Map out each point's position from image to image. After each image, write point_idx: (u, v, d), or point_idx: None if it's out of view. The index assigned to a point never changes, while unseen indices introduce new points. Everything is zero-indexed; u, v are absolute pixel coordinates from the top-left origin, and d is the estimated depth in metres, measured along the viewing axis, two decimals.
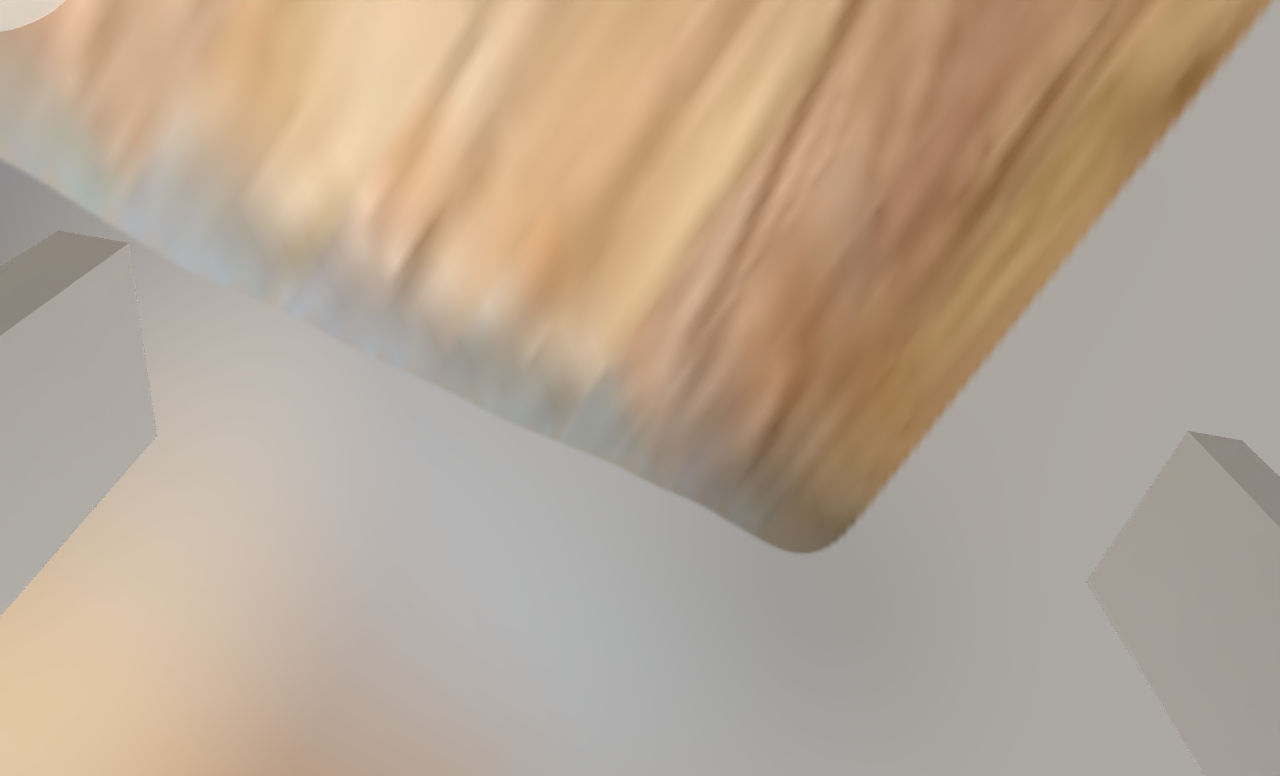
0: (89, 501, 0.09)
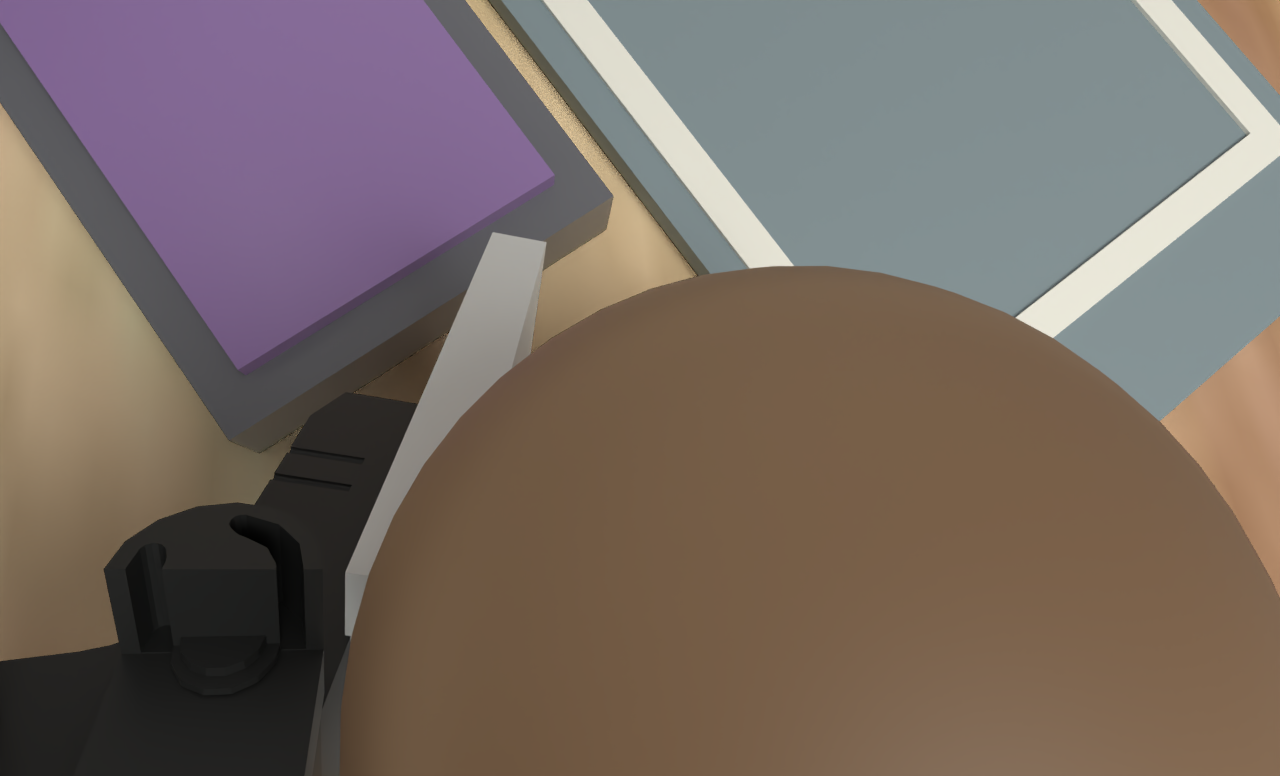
0: None
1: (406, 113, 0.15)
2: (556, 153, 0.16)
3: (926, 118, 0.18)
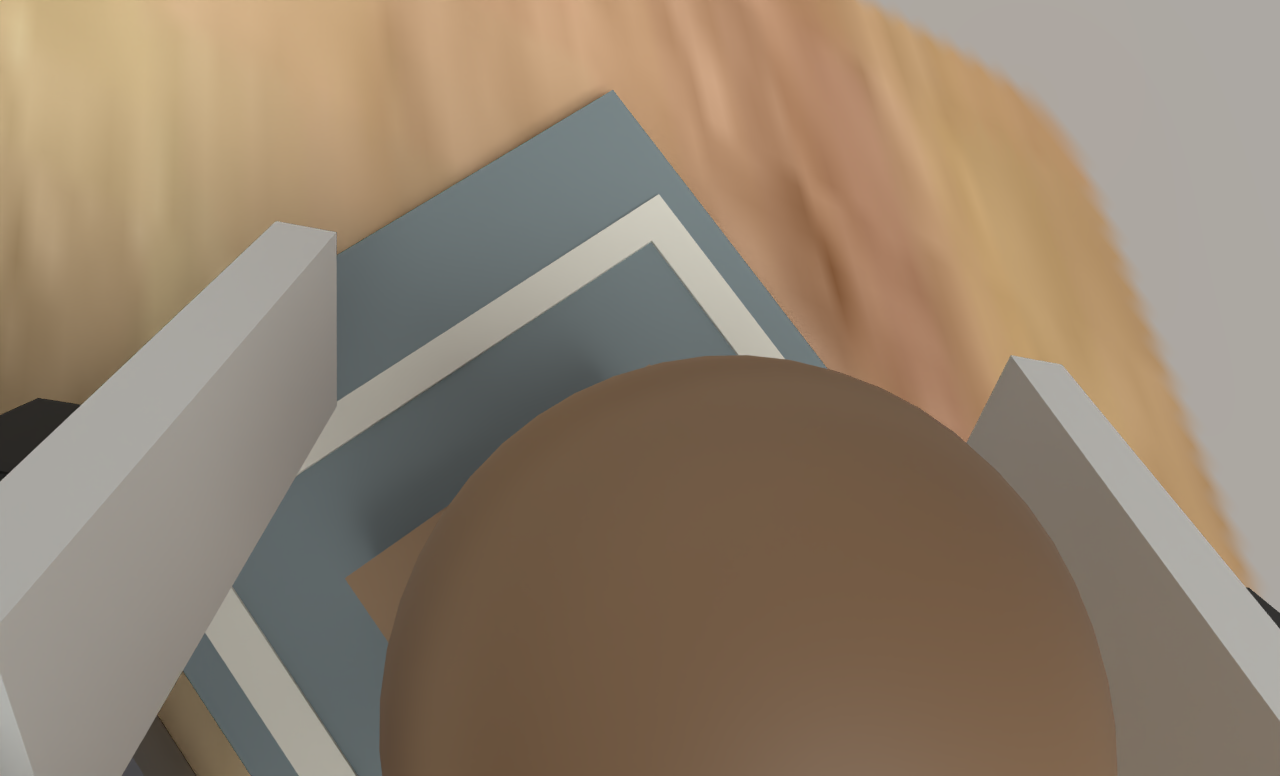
0: (300, 460, 0.11)
1: None
2: None
3: None
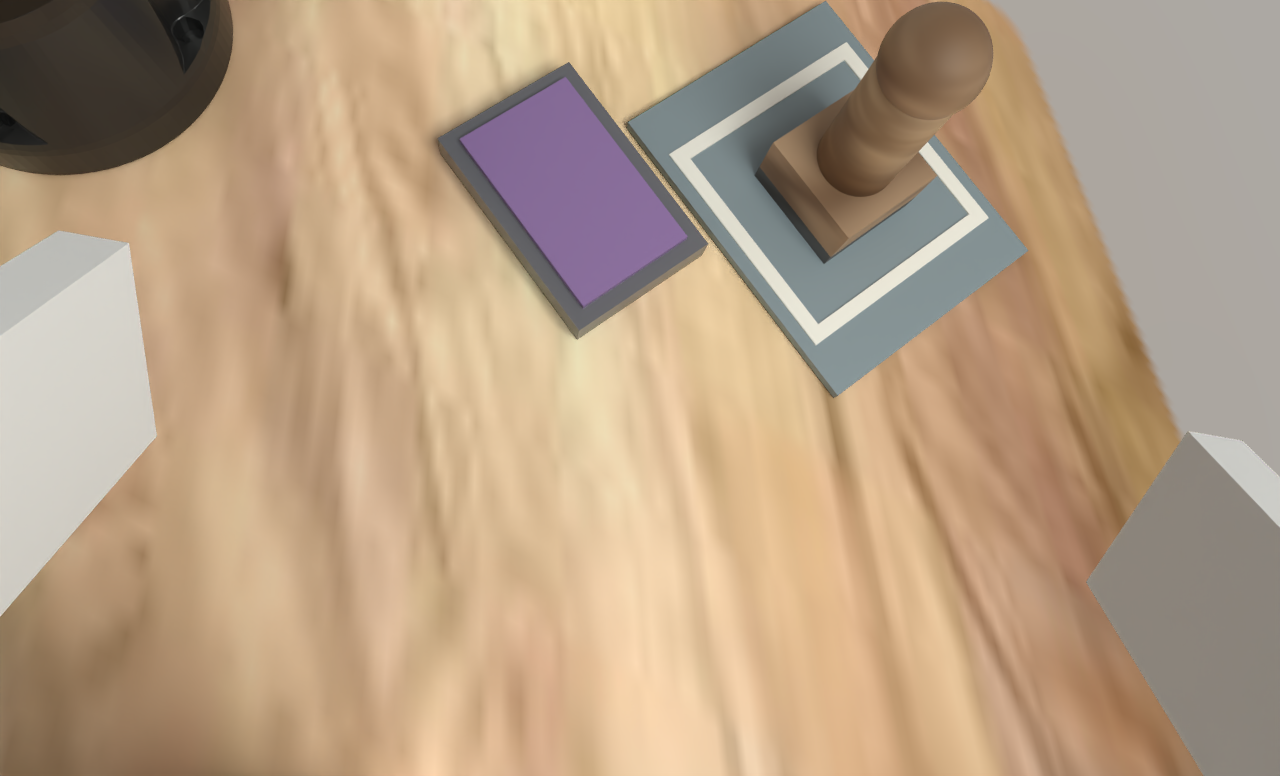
0: (89, 501, 0.09)
1: (633, 214, 0.41)
2: (686, 227, 0.42)
3: None
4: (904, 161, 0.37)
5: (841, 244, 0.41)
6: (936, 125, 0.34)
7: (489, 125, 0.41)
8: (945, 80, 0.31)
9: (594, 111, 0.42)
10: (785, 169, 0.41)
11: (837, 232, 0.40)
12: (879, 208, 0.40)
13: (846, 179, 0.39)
